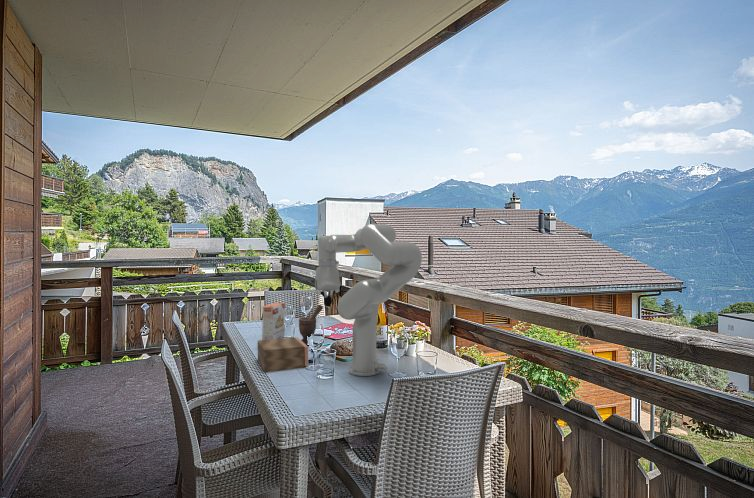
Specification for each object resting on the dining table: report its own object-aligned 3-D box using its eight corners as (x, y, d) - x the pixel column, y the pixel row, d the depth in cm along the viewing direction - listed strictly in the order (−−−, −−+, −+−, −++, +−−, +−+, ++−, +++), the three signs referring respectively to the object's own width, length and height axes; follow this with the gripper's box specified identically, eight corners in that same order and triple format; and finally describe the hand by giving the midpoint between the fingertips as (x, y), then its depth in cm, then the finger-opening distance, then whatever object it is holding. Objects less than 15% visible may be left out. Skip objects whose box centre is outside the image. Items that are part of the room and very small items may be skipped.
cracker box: (273, 350, 204) (273, 306, 203) (261, 350, 205) (261, 306, 205) (285, 343, 218) (285, 302, 217) (274, 343, 219) (274, 302, 218)
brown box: (294, 356, 194) (294, 337, 194) (303, 367, 177) (303, 346, 177) (257, 360, 187) (257, 340, 187) (264, 372, 171) (264, 350, 171)
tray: (298, 355, 194) (297, 337, 194) (308, 365, 178) (308, 346, 178) (261, 359, 188) (261, 340, 188) (268, 370, 172) (268, 350, 171)
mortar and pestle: (319, 340, 223) (318, 302, 223) (324, 344, 215) (324, 305, 215) (297, 343, 218) (297, 304, 218) (301, 347, 210) (301, 306, 210)
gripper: (340, 263, 193) (341, 304, 193) (308, 264, 187) (308, 306, 187) (346, 263, 186) (347, 306, 186) (312, 265, 180) (313, 308, 180)
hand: (327, 306), depth 186 cm, fingers closed
